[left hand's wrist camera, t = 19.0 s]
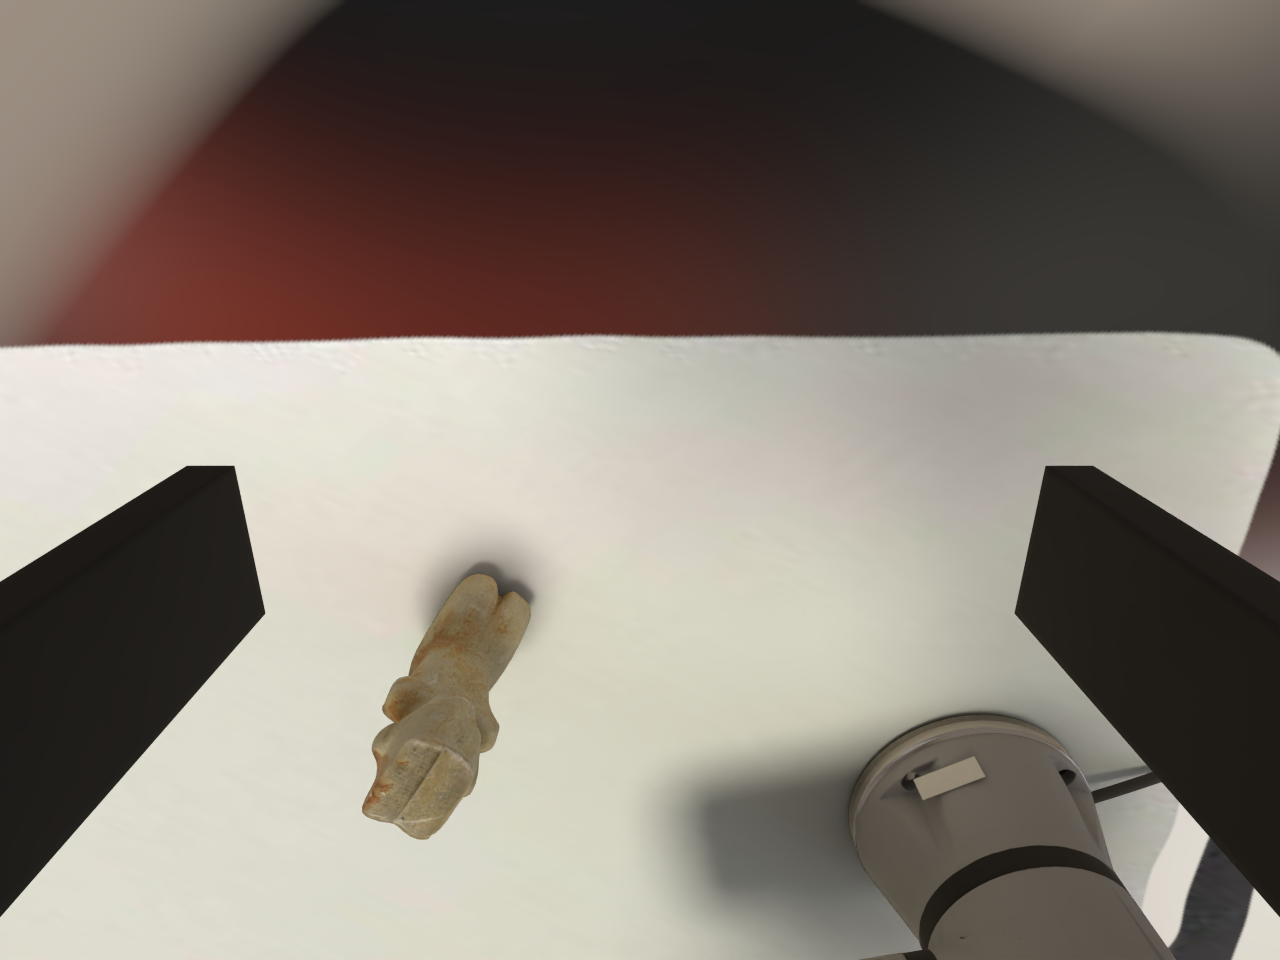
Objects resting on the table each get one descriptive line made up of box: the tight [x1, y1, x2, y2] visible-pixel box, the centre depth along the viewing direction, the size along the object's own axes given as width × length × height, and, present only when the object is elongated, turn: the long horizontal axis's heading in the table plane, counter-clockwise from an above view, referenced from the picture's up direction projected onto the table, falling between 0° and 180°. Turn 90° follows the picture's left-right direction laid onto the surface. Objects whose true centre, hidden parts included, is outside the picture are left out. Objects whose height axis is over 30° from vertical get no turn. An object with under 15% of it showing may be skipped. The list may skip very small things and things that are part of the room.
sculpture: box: [362, 574, 531, 840], centre depth 38 cm, size 6×7×15 cm
